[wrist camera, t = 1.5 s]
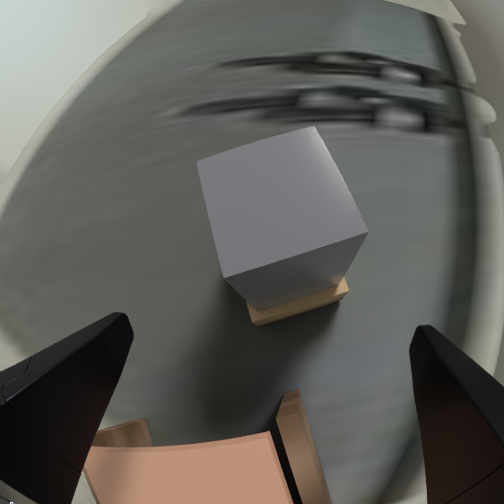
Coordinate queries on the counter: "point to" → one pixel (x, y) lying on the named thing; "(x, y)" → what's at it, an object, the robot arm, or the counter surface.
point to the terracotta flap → (190, 473)
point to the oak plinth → (298, 305)
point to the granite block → (281, 218)
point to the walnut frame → (292, 433)
